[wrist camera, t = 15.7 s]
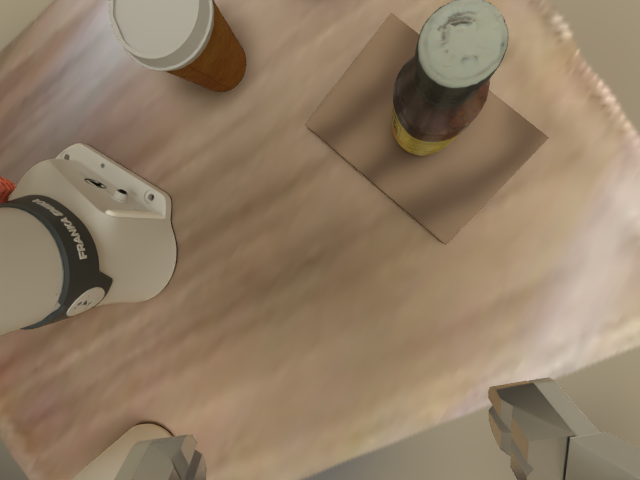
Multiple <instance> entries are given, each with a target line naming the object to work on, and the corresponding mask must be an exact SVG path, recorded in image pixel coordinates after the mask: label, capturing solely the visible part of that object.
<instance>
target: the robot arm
mask: <svg viewBox="0 0 640 480" xmlns="http://www.w3.org/2000/svg"><path fill="white" fill-rule="evenodd" d="M69 157H70V158H69ZM12 192H13V193H12ZM11 193H12V194H11ZM10 194H11V196H10V199H9V201H8V197H9V195H10ZM152 195H154V200H153V199H152ZM0 203H2V204H0V335H3V334H6V333H9V332H12V331H15V330H18V329H25V330H26V329H34V328H38V327H41V326H44V325H48V324H51V323H54V322H57V321H60V320H63V319H66V318H69V317H72V316H74V315H77V314H80V313H82V312H84V311H87V310H89V309H91V308H93V307H96V306H101V305H106V304H113V303H127V302H129V303H134V302H142V301H146V300H148V299H151V298H153V297H154V296H156V295H157V294H158V293H160V292H161V291H162V290H163V289H164V288H165V286H166V285H167V284H168V282H169V280H170V278H171V276H172V274H173V271H174V268H175V263H176V241H175V237H174V233H173V230H172V226H171V221H170V218H171V199H170V197H169V195H168V194H167V193H165V192H164V191H162V190H160V189H159V188H157V187H156V186H154V185H152V184H151V183H149V182H147V181H146V180H144V179H143V178H141V177H139V176H138V175H136V174H134V173H133V172H131V171H130V170H128V169H126V168H125V167H123V166H121V165H120V164H118V163H117V162H115V161H113V160H112V159H110V158H108V157H107V156H105V155H104V154H102V153H100V152H99V151H97V150H95V149H94V148H92V147H90V146H89V145H87V144H83V143H76V144H74V145H72V146H70V147H68V148H66V149H65V150H63V151H62V152H61V153H60V154H59V155H58V156H57V157H56V158H55V159H47V160H44V161H41V162H39V163H37V164H35V165H34V166H33V167H31V168H30V169H29V170H28V171H27V172H26V173H25V174H24V176H23V177H22V178H21V180H20V181H19V182H18V184H17V186H16V187H15V185H14V183H12V182H11V181H9V180H7V179H4V178H2V177H0ZM488 398H489V400H490V401H491V403H492V405H493V406H492V407H491V408H490V409H489V422H490V425H491V429H492V432H493V435H494V437H495V439H496V441H497V443H498V445H499V447H500V449H501V450H502V451H504V452H505V453H506V454H508V455H509V456H511V459H510V462H511V463H510V467H511V469H512V471H513V472H514V475H515V476H516V478H517V480H640V449H639V448H637V447H635V446H633V445H631V444H629V443H627V442H625V441H623V440H622V439H620V438H618V437H616V436H614V435H612V434H610V433H608V432H602V433H600V431H598V429H597V428H596V427H595V426H594V425H593V424H592V423H591V421H590V420H589V419H588V418H587V417H586V416H585V415H584V414H583V413H582V412H581V410H580V409H579V408H578V407H577V406H576V405H575V403H574V402H573V401H572V400H571V399H570V398H569V397H568V396H567V395H566V393H565V392H564V391H563V390H562V389H561V388H560V387H559V386H558V384H557V383H556V382H555V381H554V380H552V379H551V378H543V379H536V380H530V381H522V382H517V383H511V384H505V385H499V386H493V387H490V388H489V391H488ZM196 445H197V442H196V440H195V438H194V436H193V435H182V436H174V437H166V438H158V439H152V440H145V441H138V442H137V443H136V444H135V445H133V446H132V448H131V449H130V451H129V453H128V455H127V457H126V459H125V461H124V462H123V464H122V466H121V468H120V470H119V472H118V473H117V475H116V477H115V479H114V480H206V463H205V459H204V457H203V454H201V453H200V452H198V451H197V450H195V448H196Z"/></svg>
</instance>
